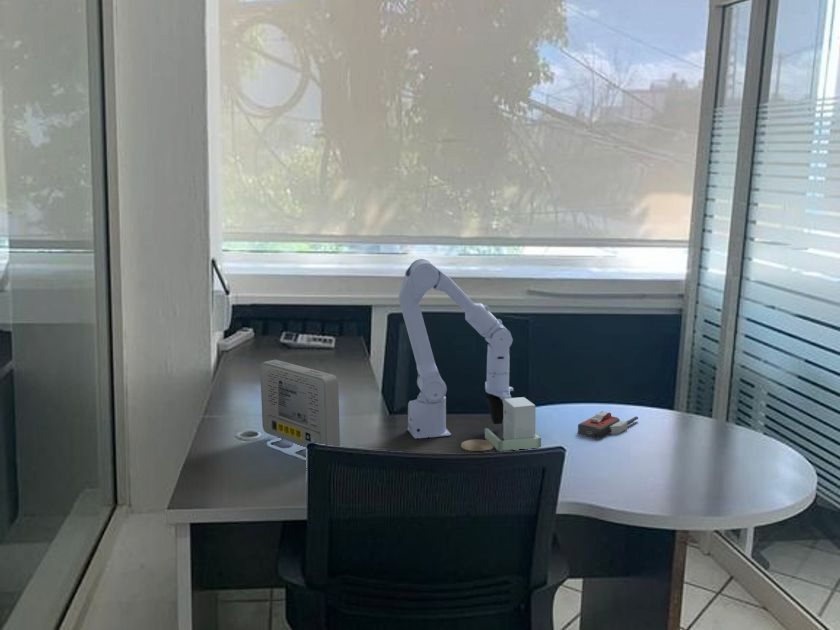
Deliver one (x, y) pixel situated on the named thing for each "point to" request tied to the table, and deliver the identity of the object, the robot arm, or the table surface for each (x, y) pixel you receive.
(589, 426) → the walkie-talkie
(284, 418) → the network device
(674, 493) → the table surface
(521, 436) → the small box
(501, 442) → the bracket
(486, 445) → the cork coaster
